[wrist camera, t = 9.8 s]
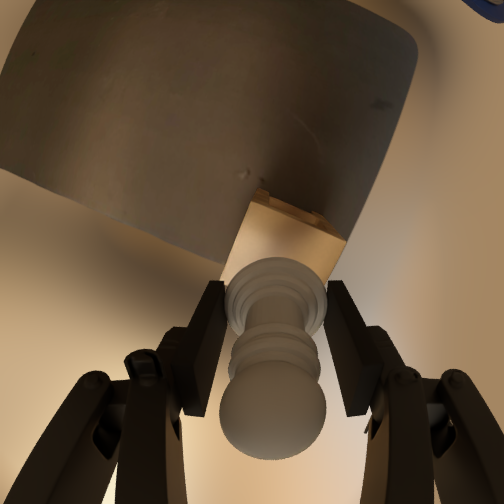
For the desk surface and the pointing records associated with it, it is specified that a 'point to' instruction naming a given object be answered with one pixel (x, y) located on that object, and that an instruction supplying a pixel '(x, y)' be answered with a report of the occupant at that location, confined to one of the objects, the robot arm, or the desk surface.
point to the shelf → (284, 237)
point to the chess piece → (274, 359)
